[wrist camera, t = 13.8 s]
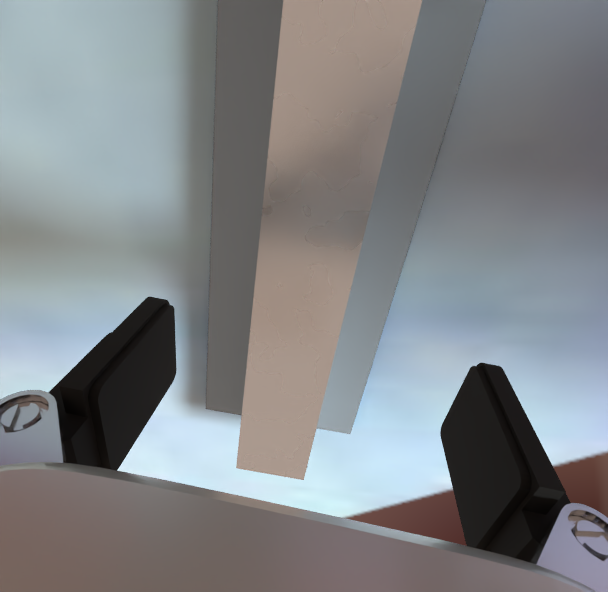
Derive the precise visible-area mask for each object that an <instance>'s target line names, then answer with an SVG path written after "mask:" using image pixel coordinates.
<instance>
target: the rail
mask: <svg viewBox="0 0 608 592" xmlns="http://www.w3.org/2000/svg"><path fill="white" fill-rule="evenodd" d="M421 3H422V0H283V9H282V19H281V29H280V39H279V49H278V59H277V69H276V79H275V89H274V99H273V109H272V119H271V128H270V138H269V148H268V158H267V168H266V178H265V188H264V198H263V208H262V218H261V228H260V238H259V248H258V258H257V268H256V278H255V288H254V298H253V308H252V318H251V327H250V337H249V347H248V357H247V367H246V377H245V387H244V397H243V407H242V417H241V427H240V437H239V447H238V457H237V467H236V468H239V469H244V470H250V471H256V472H261V473H267V474H273V475H278V476H284V477H290V478H296V479H301V480H304V476H305V472H306V468H307V464H308V460H309V456H310V452H311V448H312V444H313V440H314V436H315V432H316V427H317V423H318V419H319V415H320V411H321V407H322V403H323V399H324V395H325V391H326V387H327V383H328V379H329V375H330V371H331V367H332V363H333V359H334V355H335V351H336V347H337V343H338V339H339V335H340V331H341V327H342V322H343V318H344V314H345V310H346V306H347V302H348V298H349V294H350V290H351V286H352V282H353V278H354V274H355V270H356V266H357V262H358V258H359V254H360V250H361V246H362V242H363V238H364V234H365V230H366V226H367V222H368V217H369V213H370V209H371V205H372V201H373V197H374V193H375V189H376V185H377V181H378V177H379V173H380V169H381V165H382V161H383V157H384V153H385V149H386V145H387V141H388V137H389V133H390V129H391V125H392V121H393V117H394V112H395V108H396V104H397V100H398V96H399V92H400V88H401V84H402V80H403V76H404V72H405V68H406V64H407V60H408V56H409V52H410V48H411V44H412V40H413V36H414V32H415V28H416V24H417V20H418V16H419V12H420V7H421Z"/></svg>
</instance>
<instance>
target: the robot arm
mask: <svg viewBox="0 0 608 592" xmlns="http://www.w3.org/2000/svg"><path fill="white" fill-rule="evenodd" d="M175 375H176V347H175V318H174V307H173V306H171V305H169V302H168V301H167V300H164V299H159V298H154V297H148V298H146V299H145V300H144V301H143V302H142V303H141V304H140V305H139V306H138V307H137V308H136V309H135V310H134V311H133V312H132V313H131V314H130V315H129V316H128V317H127V318H126V319H125V320H124V321H123V322H122V323H121V324H120V325H119V326H118V327H117V328H116V329H115V330H114V331H113V332H112V333H109V334H108V335H106V336H105V337H104V338H103V339H102V340H101V341H100V342H99V343H98V344H97V345H96V346H95V347H94V348H93V349H92V350H91V351H90V352H89V353H88V354H87V355H86V356H85V357H84V358H83V359H82V360H81V361H80V362H79V363H78V364H77V365H76V366H75V367H74V368H73V369H72V370H71V371H70V372H69V373H68V374H67V375H66V376H65V377H64V378H63V379H62V380H61V381H60V382H59V383H58V384H57V385H56V386H55V387H54V388H53V389H52V390H51V391H50V392H49V393H48V392H45V391H41V390H27V391H21V392H17V393H14V394H11V395H8V396H6V397H4V398H2V399H0V592H608V518H607V517H605V516H604V515H603V514H601V513H599V512H598V511H596V510H594V509H593V508H590V507H588V506H585V505H583V504H576V503H570V501H569V499H568V497H567V495H566V493H565V490H564V488H563V486H562V484H561V482H560V480H559V478H558V476H557V474H556V472H555V470H554V468H553V466H552V464H551V462H550V460H549V458H548V456H547V454H546V452H545V451H544V449H543V447H542V445H541V443H540V441H539V439H538V437H537V435H536V433H535V431H534V429H533V427H532V425H531V423H530V421H529V419H528V417H527V415H526V413H525V412H524V410H523V408H522V406H521V404H520V402H519V400H518V398H517V396H516V394H515V392H514V390H513V388H512V386H511V384H510V382H509V380H508V378H507V376H506V374H505V373H504V371H503V369H502V368H501V367H500V366H496V365H491V364H486V363H479V364H478V365H477V366H472V367H471V368H470V370H469V372H468V374H467V376H466V378H465V380H464V382H463V384H462V386H461V388H460V390H459V392H458V394H457V396H456V398H455V400H454V402H453V404H452V406H451V408H450V410H449V412H448V414H447V416H446V418H445V420H444V422H443V424H442V427H441V439H442V444H443V448H444V452H445V456H446V460H447V465H448V469H449V473H450V477H451V482H452V486H453V490H454V494H455V499H456V503H457V507H458V511H459V515H460V519H461V524H462V528H463V532H464V537H465V541H466V544H467V546H464V545H460V544H456V543H452V542H447V541H443V540H439V539H434V538H430V537H425V536H421V535H416V534H412V533H407V532H402V531H398V530H394V529H389V528H384V527H380V526H375V525H371V524H366V523H362V522H358V521H353V520H349V519H344V518H340V517H335V516H330V515H326V514H321V513H317V512H312V511H307V510H303V509H298V508H294V507H289V506H284V505H280V504H275V503H270V502H266V501H261V500H256V499H252V498H247V497H242V496H238V495H233V494H228V493H224V492H219V491H214V490H209V489H205V488H200V487H195V486H190V485H186V484H181V483H176V482H171V481H167V480H162V479H157V478H152V477H147V476H142V475H136V474H131V473H126V472H121V471H117V469H118V468H119V467H120V465H121V463H122V462H123V460H124V459H125V457H126V456H127V454H128V452H129V451H130V449H131V448H132V446H133V444H134V443H135V441H136V440H137V438H138V436H139V435H140V433H141V432H142V430H143V428H144V427H145V425H146V424H147V422H148V420H149V419H150V417H151V416H152V414H153V413H154V411H155V409H156V408H157V406H158V405H159V403H160V401H161V400H162V398H163V397H164V395H165V393H166V392H167V390H168V389H169V387H170V385H171V384H172V382H173V380H174V378H175Z"/></svg>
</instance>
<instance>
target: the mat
mask: <svg viewBox="0 0 608 592" xmlns="http://www.w3.org/2000/svg"><path fill="white" fill-rule="evenodd" d="M485 3H486V0H422V3H421V7H420V12H419V16H418V20H417V24H416V28H415V32H414V36H413V40H412V44H411V48H410V52H409V56H408V60H407V64H406V68H405V72H404V76H403V80H402V84H401V88H400V92H399V96H398V100H397V104H396V108H395V112H394V117H393V121H392V125H391V129H390V133H389V137H388V141H387V145H386V149H385V153H384V157H383V161H382V165H381V169H380V173H379V177H378V181H377V185H376V189H375V193H374V197H373V201H372V205H371V209H370V213H369V217H368V222H367V226H366V230H365V234H364V238H363V242H362V246H361V250H360V254H359V258H358V262H357V266H356V270H355V274H354V278H353V282H352V286H351V290H350V294H349V298H348V302H347V306H346V310H345V314H344V318H343V322H342V327H341V331H340V335H339V339H338V343H337V347H336V351H335V355H334V359H333V363H332V367H331V371H330V375H329V379H328V383H327V387H326V391H325V395H324V399H323V403H322V407H321V411H320V415H319V419H318V423H317V427H316V428H318V429H324V430H330V431H335V432H341V433H347V434H350V433H351V430H352V427H353V424H354V421H355V417H356V414H357V411H358V408H359V405H360V401H361V398H362V395H363V392H364V389H365V386H366V382H367V379H368V376H369V373H370V370H371V366H372V363H373V360H374V357H375V354H376V350H377V347H378V344H379V341H380V338H381V335H382V331H383V328H384V325H385V322H386V319H387V315H388V312H389V309H390V306H391V303H392V299H393V296H394V293H395V290H396V287H397V284H398V280H399V277H400V274H401V271H402V268H403V264H404V261H405V258H406V255H407V252H408V248H409V245H410V242H411V239H412V236H413V233H414V229H415V226H416V223H417V220H418V217H419V213H420V210H421V207H422V204H423V201H424V197H425V194H426V191H427V188H428V185H429V182H430V178H431V175H432V172H433V169H434V166H435V162H436V159H437V156H438V153H439V150H440V146H441V143H442V140H443V137H444V134H445V131H446V127H447V124H448V121H449V118H450V115H451V111H452V108H453V105H454V102H455V99H456V95H457V92H458V89H459V86H460V83H461V80H462V76H463V73H464V70H465V67H466V64H467V60H468V57H469V54H470V51H471V48H472V45H473V41H474V38H475V35H476V32H477V29H478V25H479V22H480V19H481V16H482V13H483V9H484V6H485ZM282 9H283V0H218V13H217V47H216V81H215V115H214V149H213V183H212V217H211V251H210V285H209V319H208V353H207V387H206V409H209V410H215V411H221V412H226V413H232V414H238V415H242V407H243V397H244V387H245V377H246V367H247V357H248V347H249V337H250V327H251V318H252V308H253V298H254V288H255V278H256V268H257V258H258V248H259V238H260V228H261V218H262V208H263V198H264V188H265V178H266V168H267V158H268V148H269V138H270V128H271V119H272V109H273V99H274V89H275V79H276V69H277V59H278V49H279V39H280V29H281V19H282Z"/></svg>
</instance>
